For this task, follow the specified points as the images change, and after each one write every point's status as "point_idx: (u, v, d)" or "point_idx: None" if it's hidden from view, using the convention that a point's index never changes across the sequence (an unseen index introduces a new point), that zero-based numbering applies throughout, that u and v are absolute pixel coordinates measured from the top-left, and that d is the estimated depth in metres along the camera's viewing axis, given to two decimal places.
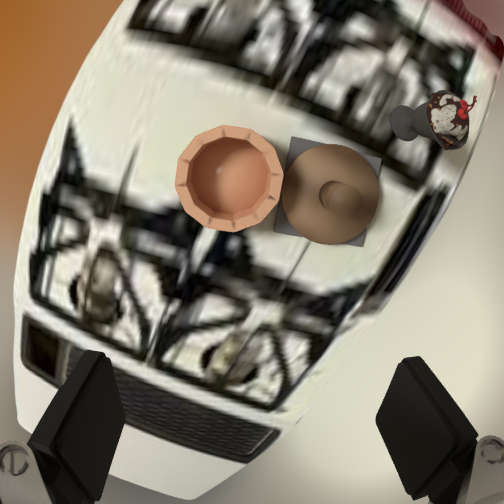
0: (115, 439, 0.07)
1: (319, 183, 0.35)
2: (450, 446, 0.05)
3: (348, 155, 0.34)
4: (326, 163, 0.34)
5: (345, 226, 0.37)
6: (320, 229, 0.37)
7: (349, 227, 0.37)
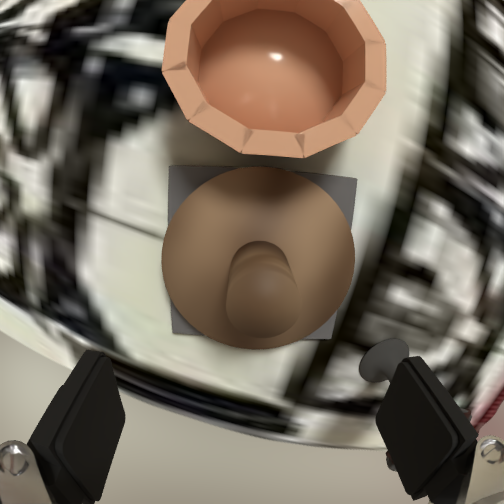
0: (115, 439, 0.07)
1: (279, 238, 0.18)
2: (450, 446, 0.05)
3: (337, 285, 0.20)
4: (319, 247, 0.19)
5: (203, 301, 0.20)
6: (187, 255, 0.19)
7: (202, 308, 0.20)
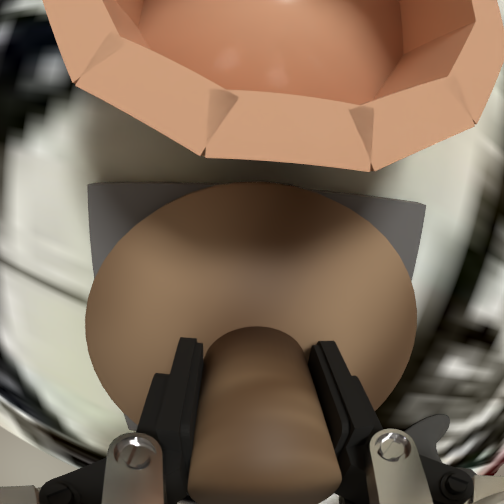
0: None
1: (292, 321, 0.10)
2: (340, 432, 0.06)
3: (382, 381, 0.11)
4: (361, 330, 0.10)
5: None
6: (127, 346, 0.10)
7: None
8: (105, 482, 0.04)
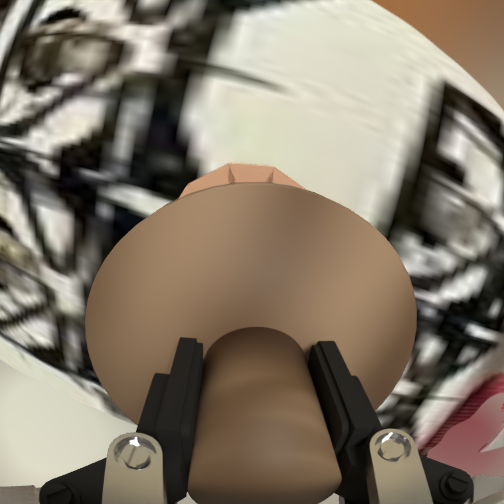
0: None
1: (292, 322, 0.10)
2: (340, 432, 0.06)
3: (382, 382, 0.11)
4: (361, 331, 0.10)
5: None
6: (127, 347, 0.10)
7: None
8: (105, 482, 0.04)
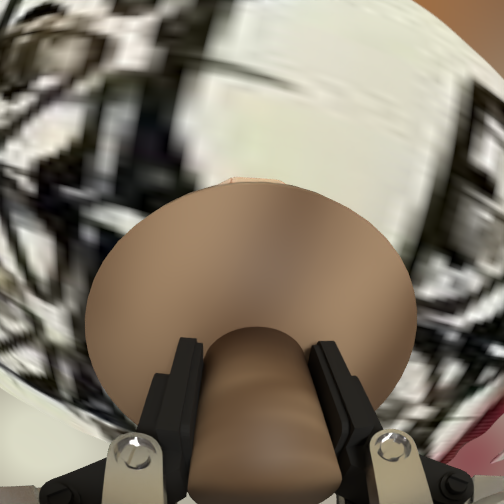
0: None
1: (292, 322, 0.10)
2: (340, 432, 0.06)
3: (382, 381, 0.11)
4: (361, 331, 0.10)
5: None
6: (127, 347, 0.10)
7: None
8: (105, 482, 0.04)
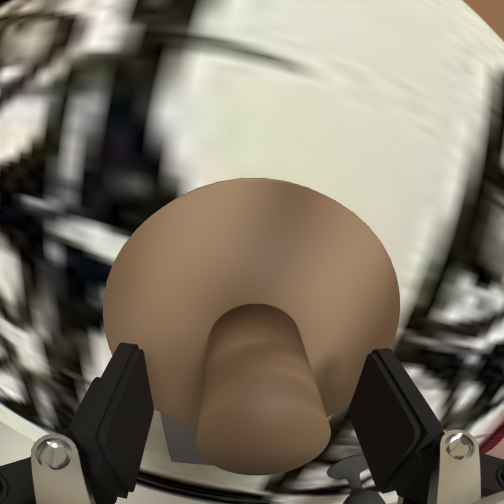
0: (146, 430, 0.08)
1: (287, 299, 0.11)
2: (413, 438, 0.06)
3: None
4: (349, 309, 0.11)
5: (171, 384, 0.12)
6: (141, 323, 0.11)
7: (172, 393, 0.12)
8: (35, 486, 0.03)
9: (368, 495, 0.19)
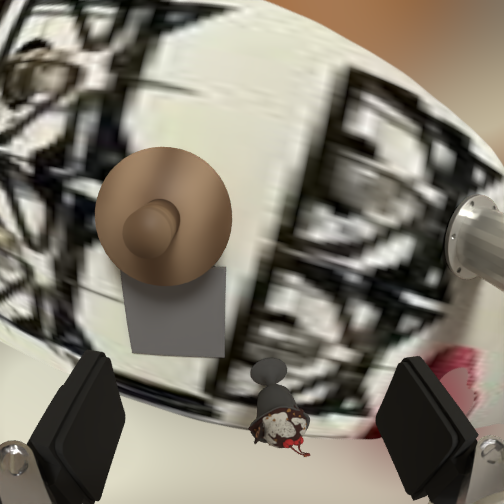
0: (115, 439, 0.07)
1: (172, 196, 0.25)
2: (450, 446, 0.05)
3: (220, 232, 0.26)
4: (201, 201, 0.25)
5: (123, 246, 0.26)
6: (111, 212, 0.25)
7: (123, 252, 0.26)
8: (0, 493, 0.03)
9: (276, 386, 0.34)
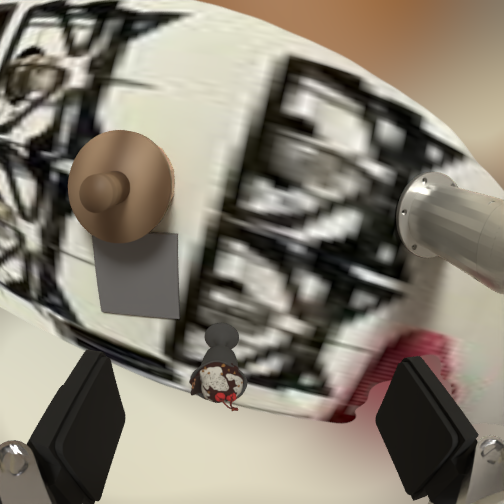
0: (115, 439, 0.07)
1: (124, 168, 0.29)
2: (450, 446, 0.05)
3: (161, 197, 0.30)
4: (146, 172, 0.29)
5: (88, 210, 0.30)
6: (80, 183, 0.29)
7: (88, 215, 0.30)
8: (0, 494, 0.03)
9: (220, 346, 0.37)
